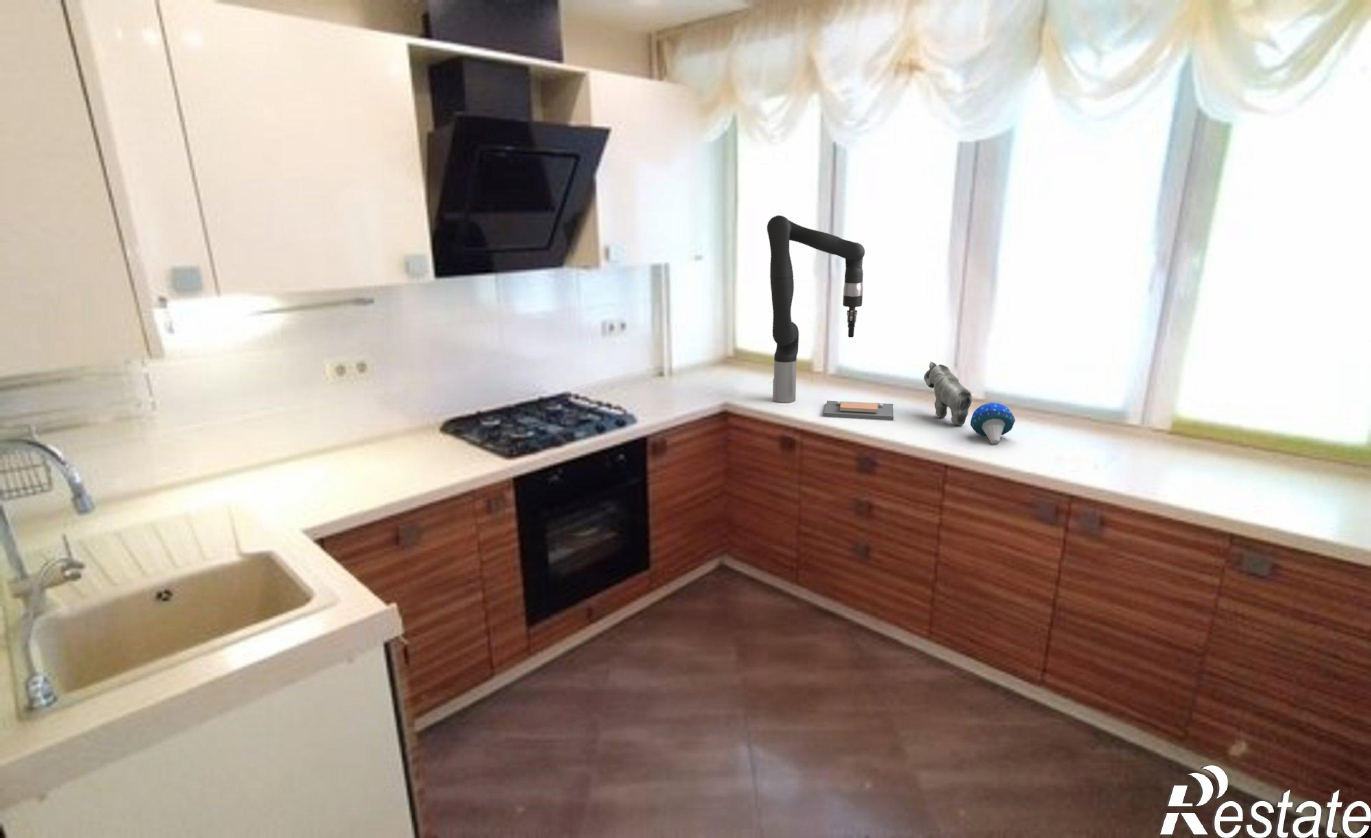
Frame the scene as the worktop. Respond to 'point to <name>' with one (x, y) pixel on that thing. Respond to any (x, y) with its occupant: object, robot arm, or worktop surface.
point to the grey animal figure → (948, 393)
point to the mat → (882, 412)
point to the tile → (859, 407)
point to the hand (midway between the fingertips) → (850, 337)
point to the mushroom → (992, 421)
